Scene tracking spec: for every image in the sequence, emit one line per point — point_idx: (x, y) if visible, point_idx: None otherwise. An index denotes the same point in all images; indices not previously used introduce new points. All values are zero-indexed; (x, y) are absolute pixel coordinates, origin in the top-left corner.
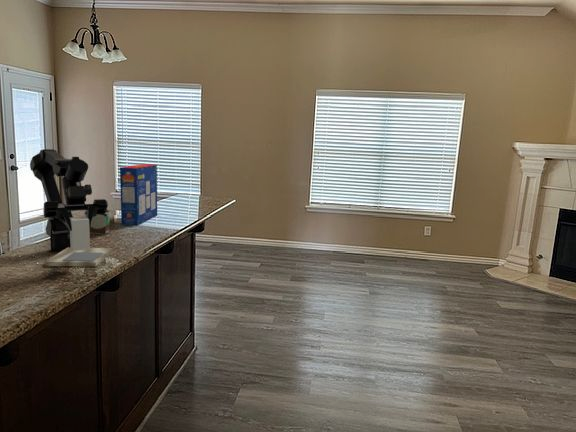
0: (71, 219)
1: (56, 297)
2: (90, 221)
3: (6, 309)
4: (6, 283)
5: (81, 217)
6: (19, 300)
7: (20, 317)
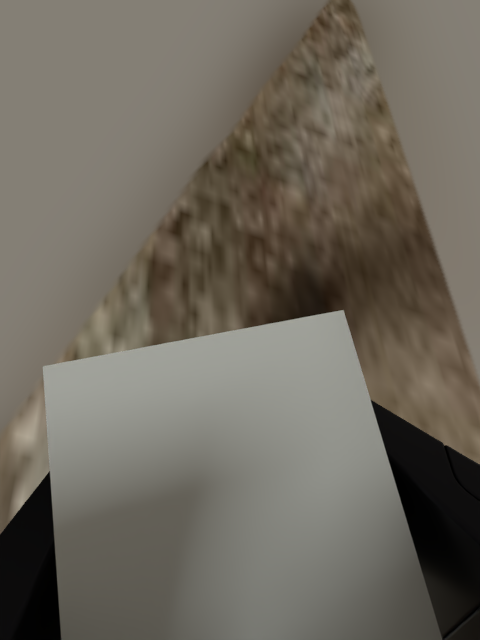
0: (364, 410)
1: (271, 107)
2: (38, 498)
3: (375, 76)
4: (439, 277)
5: (189, 622)
6: (361, 121)
7: (332, 23)
